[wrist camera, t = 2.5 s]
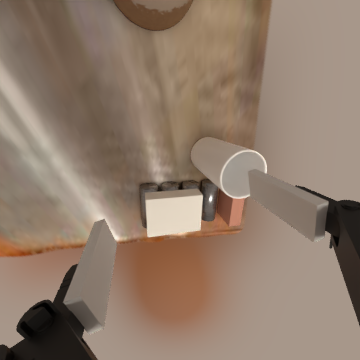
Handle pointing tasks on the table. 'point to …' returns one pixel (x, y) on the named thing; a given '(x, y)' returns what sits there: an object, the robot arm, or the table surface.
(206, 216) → the rollers
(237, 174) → the cup
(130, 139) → the table surface
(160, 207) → the board
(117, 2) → the vase
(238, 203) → the block
